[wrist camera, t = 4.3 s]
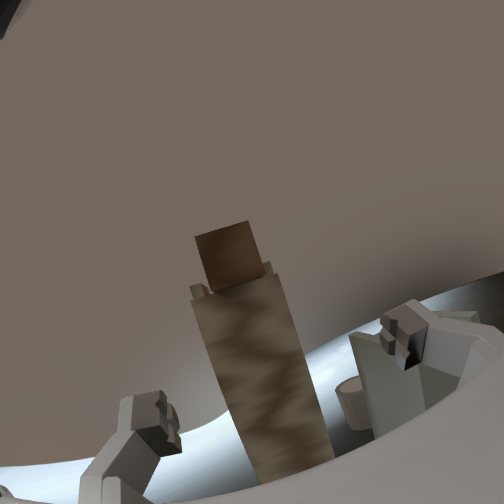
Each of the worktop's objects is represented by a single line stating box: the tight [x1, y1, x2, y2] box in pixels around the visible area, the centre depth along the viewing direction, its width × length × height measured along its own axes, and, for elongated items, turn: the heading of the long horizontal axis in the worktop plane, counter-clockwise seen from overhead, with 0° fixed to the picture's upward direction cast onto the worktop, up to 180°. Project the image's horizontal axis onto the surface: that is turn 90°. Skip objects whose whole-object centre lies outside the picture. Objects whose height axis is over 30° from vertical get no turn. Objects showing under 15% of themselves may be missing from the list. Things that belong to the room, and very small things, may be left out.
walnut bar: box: [195, 221, 266, 293], centre depth 28 cm, size 4×18×4 cm, turn 6°
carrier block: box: [348, 311, 480, 440], centre depth 23 cm, size 7×12×18 cm, turn 6°
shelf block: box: [190, 261, 335, 485], centre depth 31 cm, size 8×13×27 cm, turn 6°
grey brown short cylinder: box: [335, 375, 372, 431], centre depth 39 cm, size 7×7×7 cm
